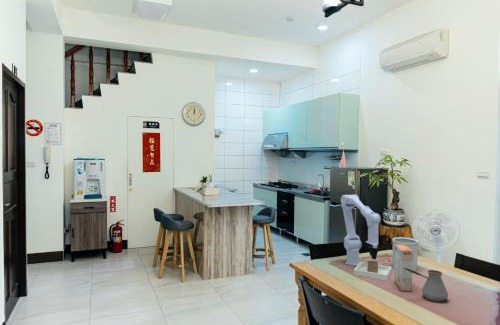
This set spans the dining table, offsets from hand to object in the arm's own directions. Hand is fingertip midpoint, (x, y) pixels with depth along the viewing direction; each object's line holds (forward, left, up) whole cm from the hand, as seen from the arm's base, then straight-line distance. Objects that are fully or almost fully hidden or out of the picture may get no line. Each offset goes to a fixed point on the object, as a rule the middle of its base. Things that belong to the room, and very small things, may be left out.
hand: (372, 257), depth 206 cm
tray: (0, 0, -9) cm, 9 cm away
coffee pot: (+26, +29, -10) cm, 40 cm away
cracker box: (+14, +18, -10) cm, 25 cm away
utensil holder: (-21, +15, -10) cm, 28 cm away
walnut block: (0, 0, -9) cm, 9 cm away
